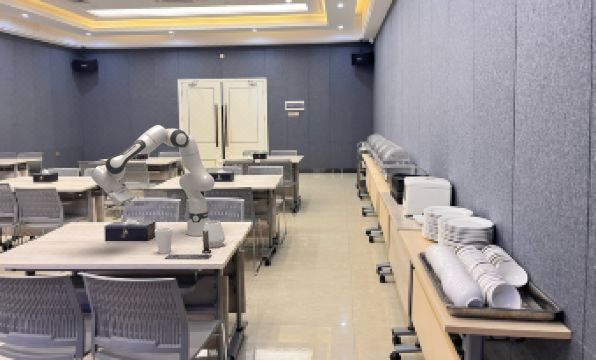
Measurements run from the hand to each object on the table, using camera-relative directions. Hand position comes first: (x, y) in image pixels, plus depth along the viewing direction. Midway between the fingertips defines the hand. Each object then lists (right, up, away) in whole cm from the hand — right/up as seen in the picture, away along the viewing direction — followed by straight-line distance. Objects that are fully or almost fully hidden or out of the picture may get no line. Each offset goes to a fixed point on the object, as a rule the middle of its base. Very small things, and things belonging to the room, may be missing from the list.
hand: (132, 206), depth 294 cm
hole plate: (+34, -26, -14) cm, 45 cm away
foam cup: (+19, -25, -2) cm, 32 cm away
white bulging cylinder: (+44, -23, +10) cm, 51 cm away
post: (+42, -25, -5) cm, 49 cm away
